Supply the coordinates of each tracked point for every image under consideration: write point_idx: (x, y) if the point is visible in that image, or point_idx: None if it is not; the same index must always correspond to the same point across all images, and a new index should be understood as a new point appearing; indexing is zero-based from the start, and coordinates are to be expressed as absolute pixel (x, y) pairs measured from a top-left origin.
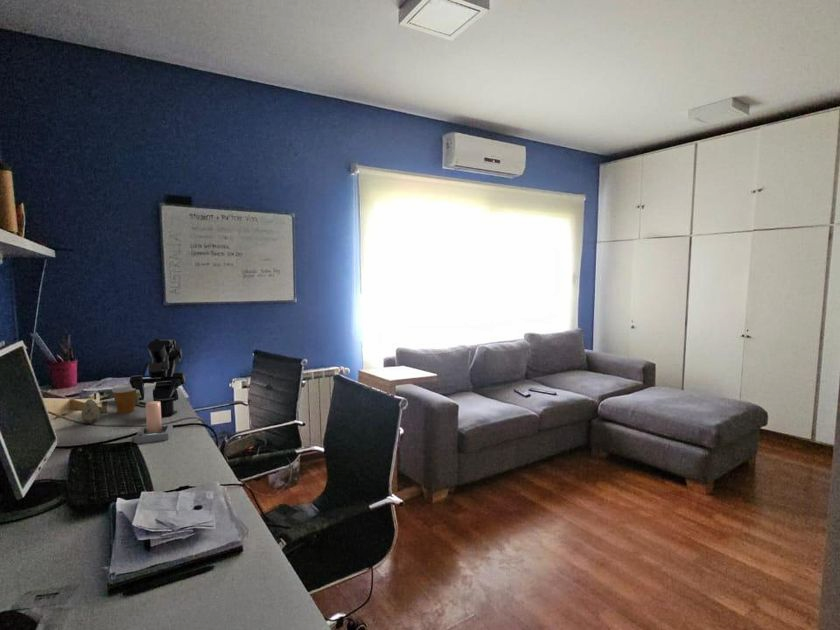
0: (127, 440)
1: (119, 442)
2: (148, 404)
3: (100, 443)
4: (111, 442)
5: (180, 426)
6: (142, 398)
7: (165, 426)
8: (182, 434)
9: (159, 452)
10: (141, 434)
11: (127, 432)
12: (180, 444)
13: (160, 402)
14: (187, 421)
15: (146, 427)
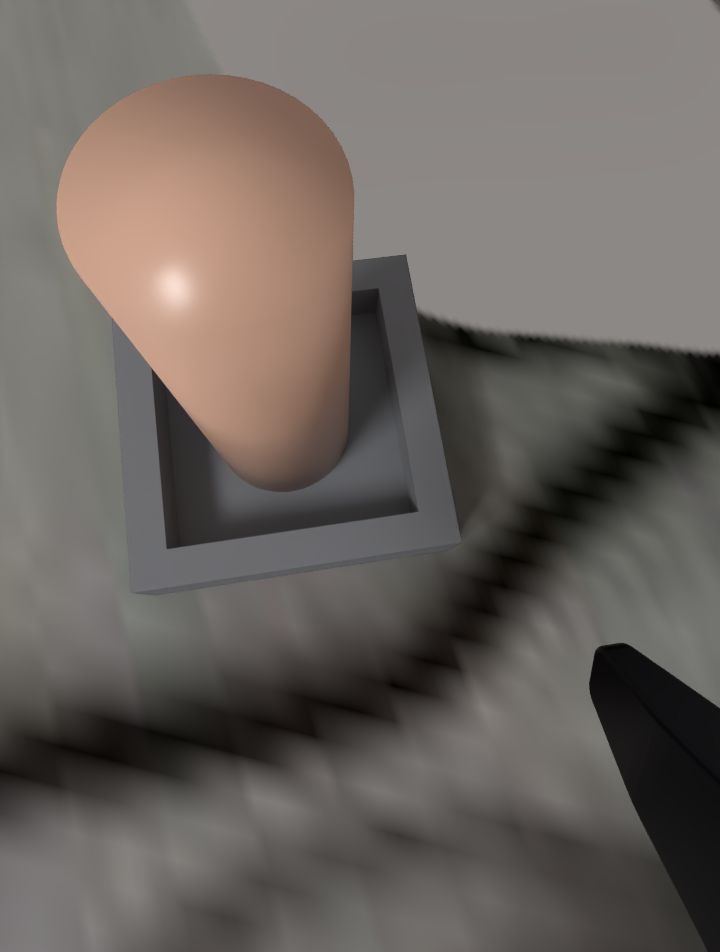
0: (505, 396)
1: (554, 362)
2: (269, 107)
3: (713, 379)
4: (627, 380)
5: (94, 709)
6: (617, 648)
7: (200, 545)
8: (27, 430)
9: (137, 69)
10: (393, 390)
11: (615, 639)
12: (3, 184)
13: (59, 219)
14: (41, 906)
15: (403, 542)
